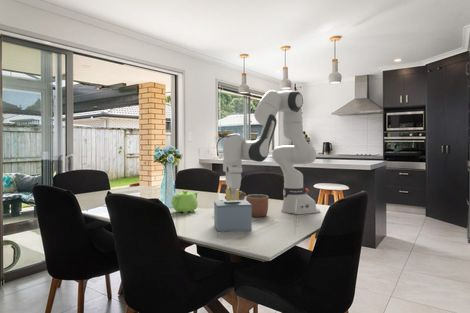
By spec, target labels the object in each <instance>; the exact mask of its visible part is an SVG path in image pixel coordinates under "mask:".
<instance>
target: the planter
mask: <svg viewBox="0 0 470 313" xmlns="http://www.w3.org/2000/svg"><path fill="white" fill-rule="evenodd" d="M245 200H247V201H248V202H249V203H250V204H252V218H263V217H265V216H267V215H268V212H269V211H268V210H269V196H268V195H267V194H248V195H246V196H245Z"/></svg>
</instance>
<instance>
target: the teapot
mask: <svg viewBox="0 0 470 313" xmlns="http://www.w3.org/2000/svg"><path fill="white" fill-rule="evenodd" d="M197 198H198V192H194V193H193V192H189V191H188V190H182V192H180V193H176V195H173V196H172V200H171V205H172V208H173V209H174V211H175V213H180V212H183V213H182V214H184V215H187V214H188V212H191V213H196V210H197V208H198V206H199V204H198V203H199V202H198V199H197Z"/></svg>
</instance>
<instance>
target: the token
mask: <svg viewBox="0 0 470 313" xmlns="http://www.w3.org/2000/svg"><path fill="white" fill-rule="evenodd" d="M239 191H240V189H237V190H236V192H235V197H231V189H229V188H226V189H225V196H226V199H225V201H228V200H239Z"/></svg>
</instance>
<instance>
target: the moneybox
mask: <svg viewBox="0 0 470 313" xmlns="http://www.w3.org/2000/svg"><path fill="white" fill-rule="evenodd" d="M213 209H214V210H213V212H214V213H213V215H214V218H213V219H214V224H213V225H214V227H215V229H216V232H217V233H220V232H221V233H222V232H224V233H225V232H239V231H241V232H242V231H252V223H253V222H252V220H253V219H252V218H253V217H252V204H250V203H249V202H248V201H247V200H246V199H244V200H231V201H226V200H224V201H220V200H214V202H213Z"/></svg>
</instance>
